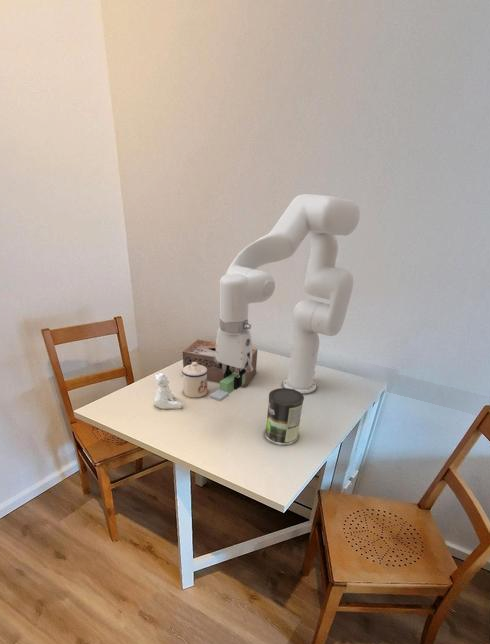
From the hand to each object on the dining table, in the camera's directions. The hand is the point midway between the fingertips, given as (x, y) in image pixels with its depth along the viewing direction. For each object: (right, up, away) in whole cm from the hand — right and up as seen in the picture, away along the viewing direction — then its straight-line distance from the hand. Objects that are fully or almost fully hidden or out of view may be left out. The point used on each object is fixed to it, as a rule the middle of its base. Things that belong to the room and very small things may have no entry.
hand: (232, 385), depth 116 cm
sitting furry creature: (-23, -3, +19) cm, 30 cm away
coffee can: (+15, -15, +6) cm, 22 cm away
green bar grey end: (-1, -2, -1) cm, 2 cm away
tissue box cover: (-5, +13, +40) cm, 42 cm away
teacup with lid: (-13, +4, +28) cm, 31 cm away
